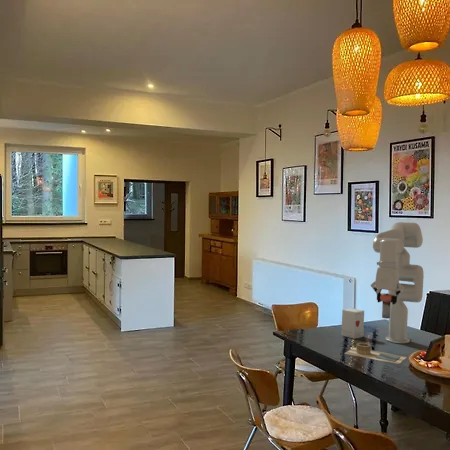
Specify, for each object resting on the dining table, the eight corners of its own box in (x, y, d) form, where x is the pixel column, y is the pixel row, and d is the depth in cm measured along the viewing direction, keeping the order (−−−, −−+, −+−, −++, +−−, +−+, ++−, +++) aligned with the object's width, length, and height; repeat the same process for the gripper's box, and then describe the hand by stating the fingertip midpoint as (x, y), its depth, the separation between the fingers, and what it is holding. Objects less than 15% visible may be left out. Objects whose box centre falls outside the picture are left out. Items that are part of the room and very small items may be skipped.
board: (354, 350, 251) (354, 339, 251) (407, 360, 236) (407, 348, 236) (344, 356, 240) (344, 345, 240) (398, 367, 225) (399, 355, 225)
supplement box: (354, 339, 273) (354, 312, 272) (340, 335, 280) (341, 309, 279) (364, 336, 278) (364, 310, 278) (350, 333, 285) (351, 307, 285)
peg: (377, 317, 234) (377, 293, 234) (381, 315, 239) (382, 292, 239) (390, 319, 230) (391, 295, 230) (394, 317, 236) (395, 293, 235)
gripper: (367, 264, 236) (366, 301, 237) (404, 267, 226) (402, 306, 227) (372, 263, 242) (371, 299, 243) (408, 266, 232) (407, 304, 233)
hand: (386, 302), depth 235 cm, fingers closed on peg, 6 cm apart
